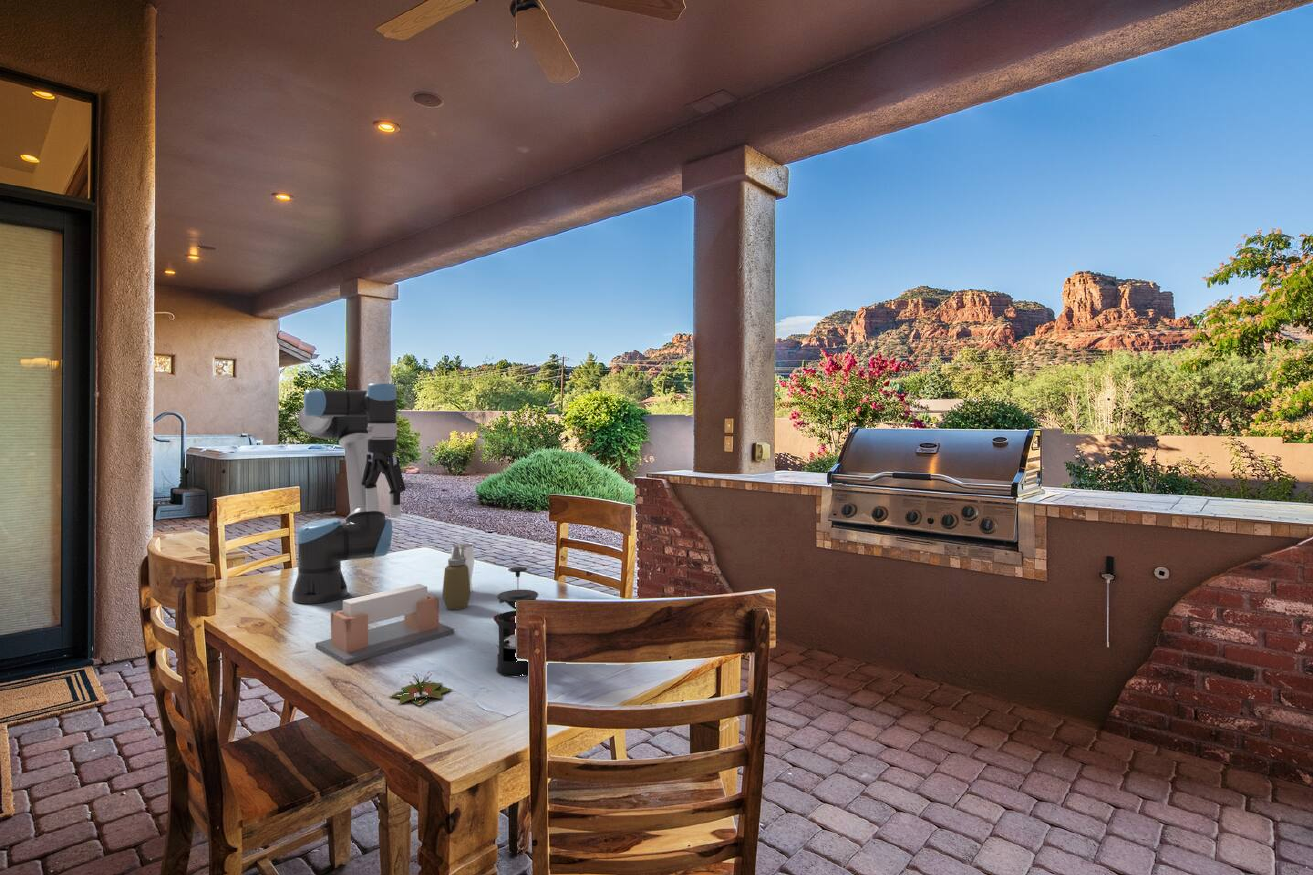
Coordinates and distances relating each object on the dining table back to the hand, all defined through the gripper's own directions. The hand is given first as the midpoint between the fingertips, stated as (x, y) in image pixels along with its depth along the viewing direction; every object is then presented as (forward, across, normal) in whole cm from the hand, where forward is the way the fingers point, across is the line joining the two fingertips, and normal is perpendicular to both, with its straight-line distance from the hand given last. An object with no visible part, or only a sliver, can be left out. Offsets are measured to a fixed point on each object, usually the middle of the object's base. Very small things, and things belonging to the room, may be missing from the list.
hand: (383, 513), depth 185 cm
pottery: (+29, +42, +15) cm, 53 cm away
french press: (+28, +60, +1) cm, 66 cm away
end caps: (+28, +21, -10) cm, 37 cm away
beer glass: (+29, -2, +27) cm, 40 cm away
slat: (+22, +21, -10) cm, 32 cm away
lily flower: (+29, +56, -21) cm, 66 cm away
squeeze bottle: (+29, +10, +17) cm, 35 cm away
